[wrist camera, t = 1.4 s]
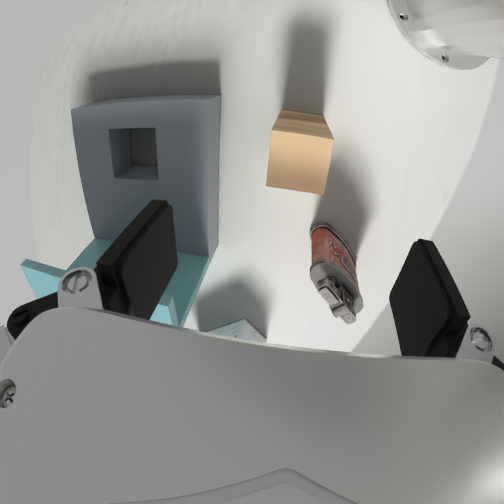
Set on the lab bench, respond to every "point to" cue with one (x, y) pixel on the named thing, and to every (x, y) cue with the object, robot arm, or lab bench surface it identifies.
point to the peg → (300, 152)
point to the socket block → (148, 186)
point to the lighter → (335, 272)
